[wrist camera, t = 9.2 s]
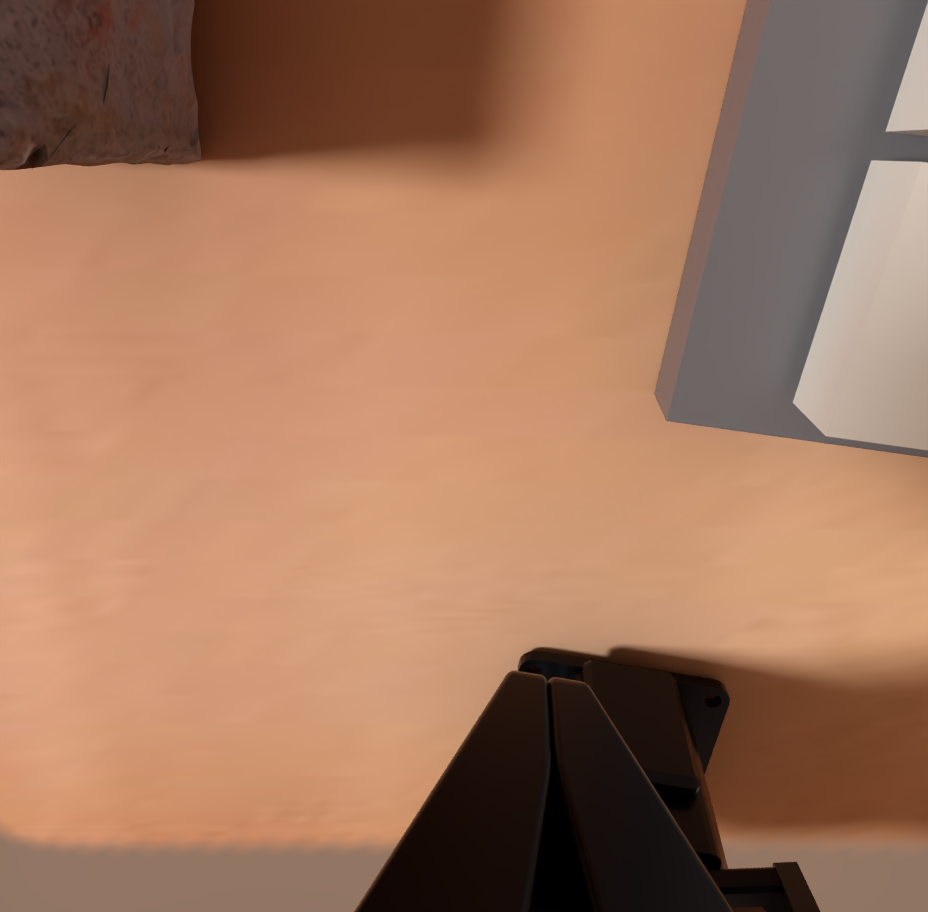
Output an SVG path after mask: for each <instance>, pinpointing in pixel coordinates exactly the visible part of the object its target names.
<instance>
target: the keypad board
mask: <svg viewBox="0 0 928 912" xmlns="http://www.w3.org/2000/svg"><path fill="white" fill-rule="evenodd" d="M927 3H928V0H747V3H746V8H745V12H744V16H743V20H742V25H741V29H740V33H739V37H738V42H737V46H736V50H735V54H734V59H733V63H732V67H731V71H730V75H729V80H728V84H727V88H726V92H725V97H724V101H723V105H722V109H721V114H720V118H719V122H718V126H717V131H716V135H715V139H714V143H713V148H712V152H711V156H710V160H709V165H708V169H707V173H706V177H705V181H704V186H703V190H702V194H701V198H700V203H699V207H698V211H697V215H696V220H695V224H694V228H693V232H692V237H691V241H690V245H689V249H688V254H687V258H686V262H685V266H684V271H683V275H682V279H681V283H680V287H679V292H678V296H677V300H676V304H675V309H674V313H673V317H672V321H671V326H670V330H669V334H668V338H667V343H666V347H665V351H664V355H663V360H662V364H661V368H660V372H659V377H658V381H657V385H656V389H655V396H656V399H657V401H658V403H659V405H660V408H661V410H662V412H663V414H664V416H665V419H666V421H671V422H678V423H685V424H692V425H699V426H706V427H713V428H720V429H728V430H735V431H742V432H749V433H756V434H763V435H770V436H778V437H785V438H792V439H799V440H806V441H813V442H820V443H827V444H835V445H842V446H849V447H856V448H863V449H870V450H877V451H885V452H892V453H899V454H906V455H913V456H920V457H927V458H928V450H921V449H914V448H907V447H900V446H892V445H885V444H878V443H871V442H864V441H857V440H849V439H842V438H835V437H828V436H825V435H824V434H823V433H822V432H821V431H820V430H819V429H818V428H817V427H816V426H815V425H814V424H813V423H812V422H811V421H810V420H809V419H808V418H807V417H806V416H805V415H804V414H803V413H802V412H801V411H800V410H799V408H798V407H797V406H796V405H795V404H794V403H793V400H794V397H795V394H796V391H797V388H798V385H799V382H800V379H801V375H802V372H803V369H804V366H805V363H806V360H807V357H808V354H809V351H810V348H811V345H812V342H813V338H814V335H815V332H816V329H817V326H818V323H819V320H820V317H821V314H822V311H823V308H824V305H825V301H826V298H827V295H828V292H829V289H830V286H831V283H832V280H833V277H834V274H835V271H836V267H837V264H838V261H839V258H840V255H841V252H842V249H843V246H844V243H845V240H846V237H847V234H848V230H849V227H850V224H851V221H852V218H853V215H854V212H855V209H856V206H857V203H858V200H859V197H860V193H861V190H862V187H863V184H864V181H865V178H866V175H867V172H868V169H869V166H870V163H871V160H878V161H910V162H927V163H928V137H927V136H918V135H910V134H901V133H892V132H885V131H886V128H887V125H888V122H889V119H890V116H891V113H892V110H893V107H894V104H895V101H896V98H897V94H898V91H899V88H900V85H901V82H902V79H903V76H904V73H905V70H906V67H907V64H908V61H909V58H910V55H911V52H912V49H913V46H914V42H915V39H916V36H917V33H918V30H919V27H920V24H921V21H922V18H923V15H924V12H925V9H926V6H927Z"/></svg>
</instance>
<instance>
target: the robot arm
mask: <svg viewBox="0 0 928 912" xmlns="http://www.w3.org/2000/svg"><path fill="white" fill-rule="evenodd" d="M531 666H537V667H540V668H541V669H539V670H532V669H529V667H531ZM709 695H717V696H715V697H713V698H706V697H707V696H709ZM729 700H730V698H729V695H728V692H727V690H726V687H725V685H724V684H723V683H721V682H720V681H717V680H714V679H708V678H702V677H696V676H689V675H683V674H677V673H670V672H664V671H658V670H651V669H645V668H639V667H633V666H626V665H620V664H614V663H607V662H601V661H595V660H588V659H582V658H576V657H570V656H563V655H557V654H551V653H544V652H538V651H531V652H528V653H525V654H524V655H523V656H522V657H521V658H520V661H519V665H518V670H517V671H511V672H509V673H508V674H507V675H506V676H505V678H504V679H503V681H502V683H501V684H500V686H499V687H498V689H497V690H496V692H495V693H494V695H493V697H492V698H491V700H490V701H489V703H488V704H487V706H486V707H485V709H484V711H483V712H482V714H481V715H480V717H479V718H478V720H477V721H476V723H475V725H474V726H473V728H472V729H471V731H470V732H469V734H468V735H467V737H466V739H465V740H464V742H463V743H462V745H461V746H460V748H459V749H458V751H457V753H456V754H455V756H454V757H453V759H452V760H451V762H450V763H449V765H448V767H447V768H446V770H445V771H444V773H443V774H442V776H441V777H440V779H439V781H438V782H437V784H436V785H435V787H434V788H433V790H432V791H431V793H430V795H429V796H428V798H427V799H426V801H425V802H424V804H423V805H422V807H421V809H420V810H419V812H418V813H417V815H416V816H415V818H414V819H413V821H412V823H411V824H410V826H409V827H408V829H407V830H406V832H405V833H404V835H403V837H402V838H401V840H400V841H399V843H398V844H397V846H396V847H395V849H394V850H393V852H392V854H391V855H390V857H389V858H388V860H387V862H386V863H385V865H384V866H383V868H382V869H381V871H380V872H379V874H378V875H377V877H376V879H375V880H374V882H373V883H372V885H371V886H370V888H369V889H368V891H367V892H366V894H365V896H364V897H363V899H362V900H361V902H360V903H359V905H358V906H357V908H356V910H355V911H354V912H820V910H819V908H818V906H817V904H816V901H815V899H814V897H813V895H812V893H811V891H810V889H809V887H808V885H807V882H806V880H805V878H804V876H803V874H802V872H801V870H800V868H799V866H798V864H797V862H783V863H773V867H765V868H741V869H740V868H739V869H728V866H727V862H726V859H725V854H724V850H723V846H722V843H721V839H720V835H719V831H718V827H717V823H716V819H715V815H714V811H713V807H712V803H711V799H710V795H709V792H708V788H707V784H706V780H705V776H704V774H705V771H706V768H707V766H708V763H709V760H710V757H711V754H712V751H713V748H714V746H715V743H716V740H717V737H718V734H719V731H720V728H721V726H722V723H723V720H724V717H725V714H726V711H727V709H728V706H729Z"/></svg>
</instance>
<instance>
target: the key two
mask: <svg viewBox="0 0 928 912" xmlns="http://www.w3.org/2000/svg"><path fill="white" fill-rule="evenodd" d="M885 132H892V133H901V134H910V135H918V136H927V137H928V3H927V6H926V9H925V12H924V15H923V18H922V21H921V24H920V27H919V30H918V33H917V36H916V39H915V42H914V46H913V49H912V52H911V55H910V58H909V61H908V64H907V67H906V70H905V73H904V76H903V79H902V82H901V85H900V88H899V91H898V94H897V98H896V101H895V104H894V107H893V110H892V113H891V116H890V119H889V122H888V125H887V128H886V131H885Z"/></svg>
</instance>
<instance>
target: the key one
mask: <svg viewBox="0 0 928 912" xmlns="http://www.w3.org/2000/svg"><path fill="white" fill-rule="evenodd" d="M793 403H794V404H795V405H796V406H797V407H798V408H799V410H800V411H801V412H802V413H803V414H804V415H805V416H806V417H807V418H808V419H809V420H810V421H811V422H812V423H813V424H814V425H815V426H816V427H817V428H818V429H819V430H820V431H821V432H822V433H823V434H824V435H825V436H828V437H835V438H842V439H849V440H857V441H864V442H871V443H878V444H885V445H892V446H900V447H907V448H914V449H921V450H928V163H927V162H910V161H878V160H871V163H870V166H869V169H868V172H867V175H866V178H865V181H864V184H863V187H862V190H861V193H860V197H859V200H858V203H857V206H856V209H855V212H854V215H853V218H852V221H851V224H850V227H849V230H848V234H847V237H846V240H845V243H844V246H843V249H842V252H841V255H840V258H839V261H838V264H837V267H836V271H835V274H834V277H833V280H832V283H831V286H830V289H829V292H828V295H827V298H826V301H825V305H824V308H823V311H822V314H821V317H820V320H819V323H818V326H817V329H816V332H815V335H814V338H813V342H812V345H811V348H810V351H809V354H808V357H807V360H806V363H805V366H804V369H803V372H802V375H801V379H800V382H799V385H798V388H797V391H796V394H795V397H794V400H793Z"/></svg>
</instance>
